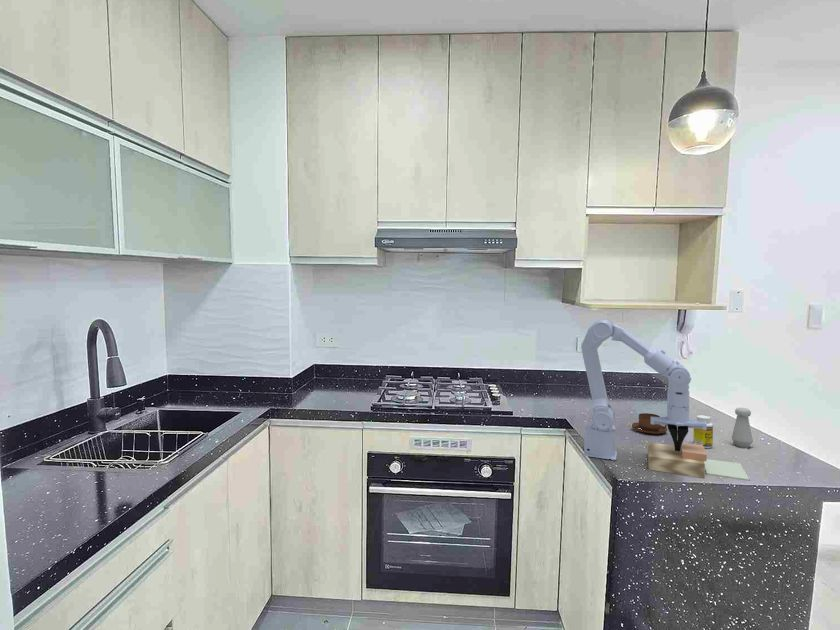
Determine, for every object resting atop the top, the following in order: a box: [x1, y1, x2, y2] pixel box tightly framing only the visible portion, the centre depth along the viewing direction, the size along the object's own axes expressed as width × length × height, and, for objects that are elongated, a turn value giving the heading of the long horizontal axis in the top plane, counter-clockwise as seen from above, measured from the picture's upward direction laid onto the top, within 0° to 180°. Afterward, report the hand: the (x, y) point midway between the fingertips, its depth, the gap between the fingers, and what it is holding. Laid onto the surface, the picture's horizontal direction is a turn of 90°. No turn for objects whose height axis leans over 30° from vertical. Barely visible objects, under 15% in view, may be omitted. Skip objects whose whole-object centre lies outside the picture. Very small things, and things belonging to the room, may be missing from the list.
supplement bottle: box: [692, 414, 714, 449], centre depth 150 cm, size 6×6×10 cm
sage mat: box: [704, 458, 750, 481], centre depth 130 cm, size 10×13×1 cm
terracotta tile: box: [680, 442, 708, 462], centre depth 131 cm, size 6×9×2 cm, turn 153°
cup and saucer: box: [631, 412, 668, 435], centre depth 167 cm, size 12×12×6 cm
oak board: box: [647, 441, 706, 479], centre depth 133 cm, size 14×14×4 cm
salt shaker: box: [731, 407, 754, 449], centre depth 150 cm, size 6×6×13 cm
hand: (677, 450), depth 132 cm, fingers closed
